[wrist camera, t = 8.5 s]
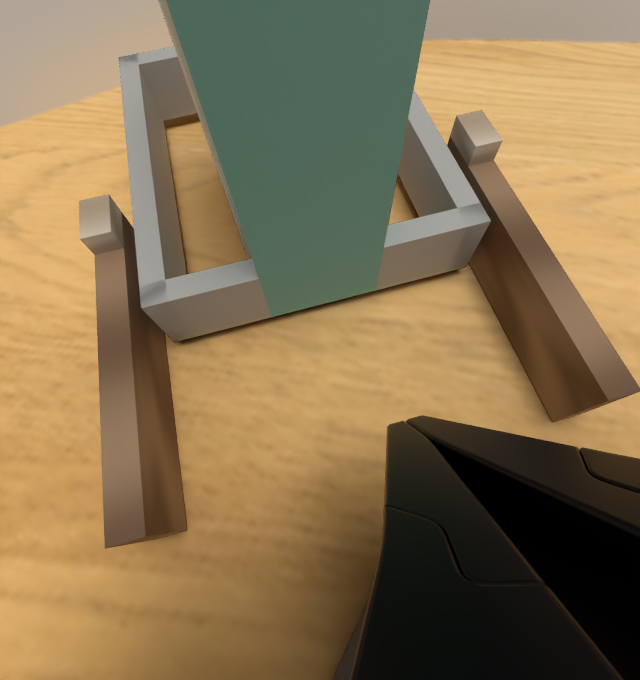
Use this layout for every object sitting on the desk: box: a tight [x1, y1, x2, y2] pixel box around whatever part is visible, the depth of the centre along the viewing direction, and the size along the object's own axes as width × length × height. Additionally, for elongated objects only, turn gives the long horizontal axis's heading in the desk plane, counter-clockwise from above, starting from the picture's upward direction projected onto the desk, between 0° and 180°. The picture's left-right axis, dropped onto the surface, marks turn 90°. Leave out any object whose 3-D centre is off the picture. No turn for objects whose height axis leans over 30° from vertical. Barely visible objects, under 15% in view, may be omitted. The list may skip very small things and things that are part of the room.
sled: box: [119, 0, 491, 342], centre depth 13 cm, size 16×14×16 cm
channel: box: [79, 110, 640, 548], centre depth 16 cm, size 13×18×4 cm
